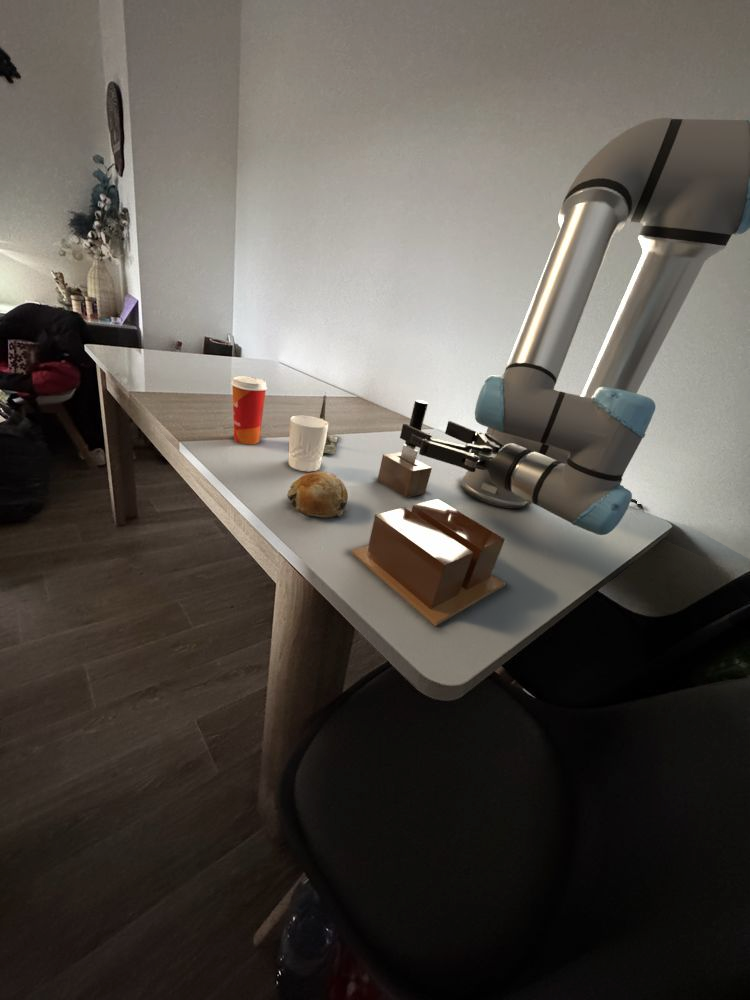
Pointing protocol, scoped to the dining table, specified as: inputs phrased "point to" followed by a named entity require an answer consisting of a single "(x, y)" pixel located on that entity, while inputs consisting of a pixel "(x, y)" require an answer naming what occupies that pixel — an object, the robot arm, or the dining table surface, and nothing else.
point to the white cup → (306, 442)
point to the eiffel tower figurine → (330, 441)
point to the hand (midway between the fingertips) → (426, 429)
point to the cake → (433, 558)
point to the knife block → (404, 475)
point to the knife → (416, 422)
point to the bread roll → (318, 495)
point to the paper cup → (248, 408)
